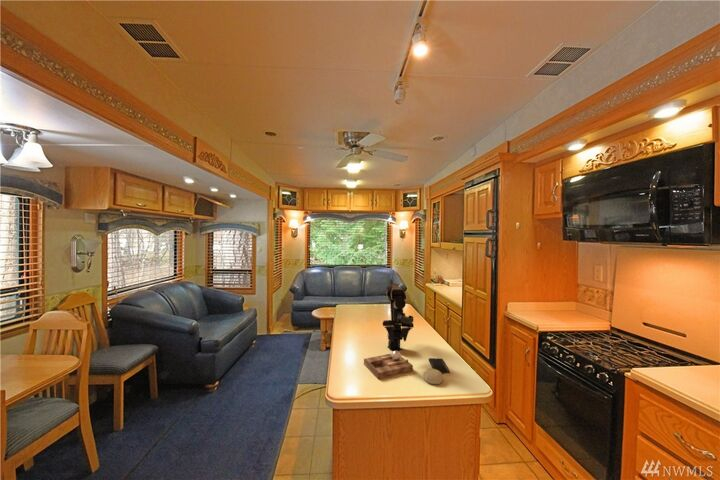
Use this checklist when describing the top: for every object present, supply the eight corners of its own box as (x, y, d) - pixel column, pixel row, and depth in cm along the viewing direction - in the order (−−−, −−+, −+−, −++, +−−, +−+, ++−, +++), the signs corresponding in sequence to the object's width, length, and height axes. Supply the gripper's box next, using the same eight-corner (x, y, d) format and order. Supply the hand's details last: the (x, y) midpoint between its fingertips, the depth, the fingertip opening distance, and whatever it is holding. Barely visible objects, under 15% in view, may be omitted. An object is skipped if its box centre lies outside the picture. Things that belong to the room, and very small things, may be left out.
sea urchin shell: (418, 371, 134) (430, 360, 134) (429, 382, 134) (441, 371, 135) (424, 382, 125) (437, 369, 125) (436, 393, 125) (448, 381, 126)
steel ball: (397, 357, 146) (397, 348, 146) (402, 361, 142) (402, 352, 142) (389, 359, 144) (389, 349, 144) (394, 363, 140) (394, 353, 140)
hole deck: (395, 357, 153) (395, 350, 152) (412, 371, 138) (412, 363, 138) (363, 364, 144) (363, 357, 144) (378, 379, 130) (378, 371, 130)
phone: (442, 358, 151) (450, 372, 136) (442, 360, 151) (450, 374, 136) (428, 358, 151) (434, 371, 136) (428, 360, 151) (434, 373, 136)
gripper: (396, 308, 140) (397, 340, 135) (420, 311, 151) (422, 341, 145) (381, 310, 149) (382, 340, 143) (405, 313, 159) (406, 341, 153)
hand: (398, 340), depth 146 cm, fingers open, 9 cm apart
